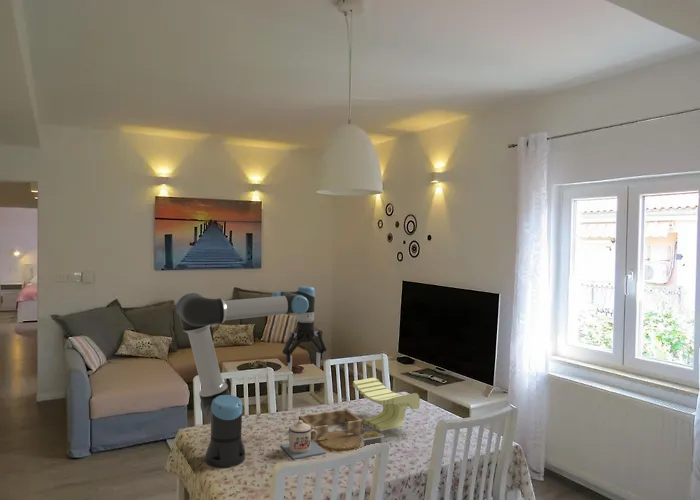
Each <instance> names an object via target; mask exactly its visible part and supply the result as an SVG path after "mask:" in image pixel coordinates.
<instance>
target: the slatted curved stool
mask: <svg viewBox="0 0 700 500" xmlns="http://www.w3.org/2000/svg"><path fill="white" fill-rule="evenodd" d="M352 388H356V391H357V392H359V395H363V398H365V399H367V400H369V401H372V402H374V403H377V404H379V405H381V406H382V411H381V412H380V413H378V414H377V415H376V414H375V415H374V416H371V417H367V418H364V419H363V424H365V425H367V426H369V427H371V428H373V429H375V430H376V431H378V432H383V431H387V430H390V429H395V428H398V427H402V426H403V425H404V421H405V416H406V409H407V408H409V409H411V410H416V409H417V410H418V409H420V402H421V401H420V400H421V399H420V396H419V394H418V393H417V392H413V393H408V394H399V393H396V392H394V391H392V390H390V389H388V388H387V386H385V385H384V383H382V382H381V381H380V379H378V378H377V377H376V378H375V377H369V378H363V379H358V380H353V381H352Z"/></svg>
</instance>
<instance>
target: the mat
mask: <svg viewBox="0 0 700 500" xmlns="http://www.w3.org/2000/svg"><path fill="white" fill-rule="evenodd" d="M280 446H281V448H282V449H283V450H284V452H286V453H287V454H288V456H289V457H291V459H292V460H293V461H294V460H298V459H299V460H301V459H304V458H309V457H314V456H320V455H321V456H322V455H326V454H327V452H326V451H325V450H324V449H323V448H322V447H321V446H320V445H319V444H318V443H317V442H314V441H312V442H310V450H309V451H307V452H304V453H294V452H292V451H290V450H289V443H284V444H281V445H280Z"/></svg>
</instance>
